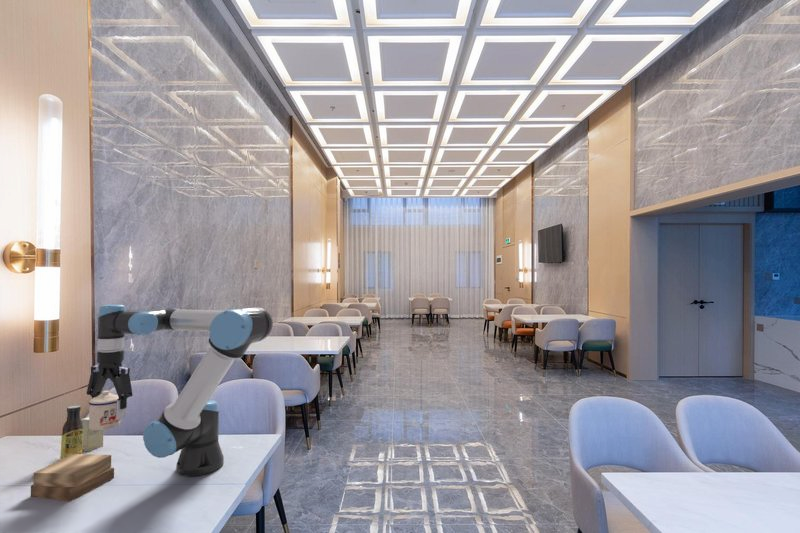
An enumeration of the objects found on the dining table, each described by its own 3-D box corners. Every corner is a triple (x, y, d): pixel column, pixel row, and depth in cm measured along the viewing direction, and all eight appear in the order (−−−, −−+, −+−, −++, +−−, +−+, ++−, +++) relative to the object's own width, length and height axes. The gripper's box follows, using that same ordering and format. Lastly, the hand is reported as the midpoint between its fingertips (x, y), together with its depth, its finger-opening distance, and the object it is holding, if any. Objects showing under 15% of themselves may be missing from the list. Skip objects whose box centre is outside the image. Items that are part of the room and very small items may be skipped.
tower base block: (114, 479, 141) (114, 467, 141) (70, 503, 126) (70, 489, 126) (77, 476, 144) (77, 464, 144) (30, 498, 129) (30, 485, 129)
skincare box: (87, 451, 163) (88, 420, 163) (79, 450, 165) (80, 419, 165) (103, 445, 169) (104, 415, 169) (96, 444, 170) (96, 414, 171)
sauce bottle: (64, 467, 150) (65, 410, 150) (57, 463, 153) (58, 408, 154) (85, 460, 155) (86, 405, 156) (78, 456, 159) (79, 403, 159)
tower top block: (111, 466, 142) (111, 454, 142) (76, 487, 128) (76, 473, 128) (72, 465, 143) (72, 453, 143) (33, 486, 129) (33, 472, 129)
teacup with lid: (100, 432, 135) (101, 396, 135) (81, 428, 138) (82, 393, 138) (135, 420, 146) (136, 387, 147) (116, 417, 149) (117, 384, 150)
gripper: (146, 350, 144) (144, 416, 143) (95, 346, 149) (93, 410, 148) (127, 354, 137) (125, 423, 136) (74, 350, 142) (72, 417, 141)
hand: (108, 417), depth 142 cm, fingers closed on teacup with lid, 9 cm apart
